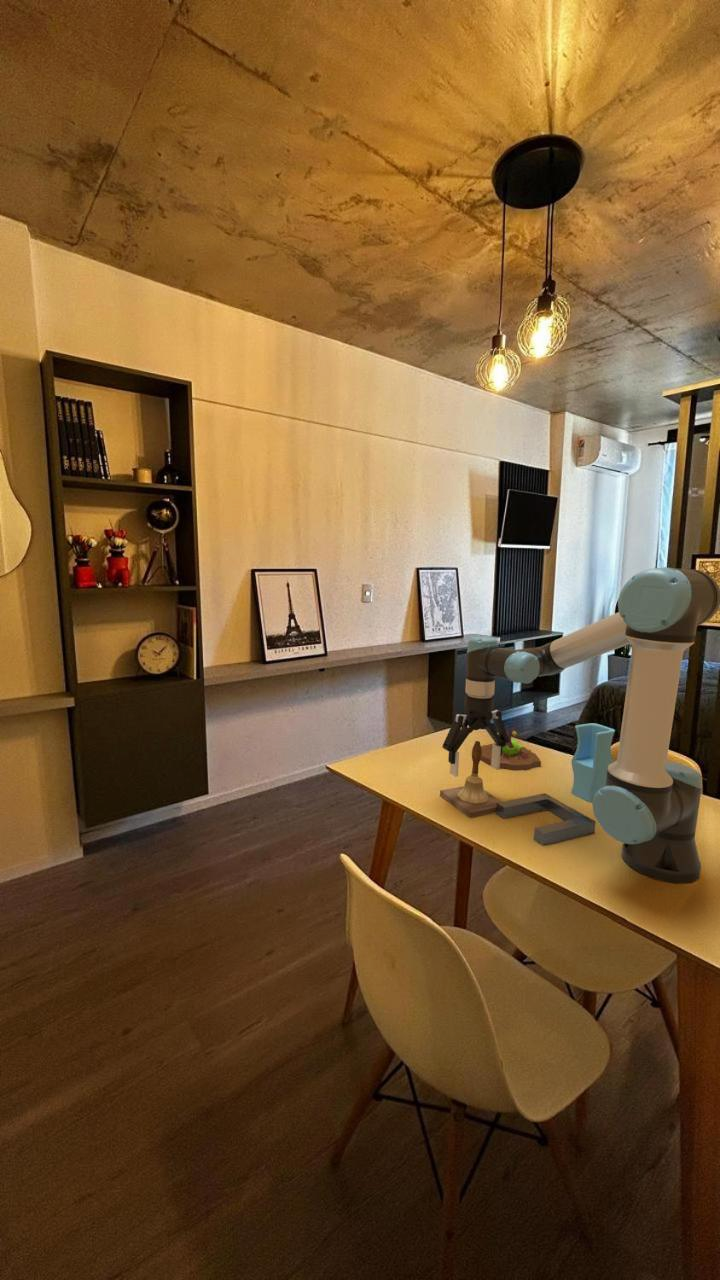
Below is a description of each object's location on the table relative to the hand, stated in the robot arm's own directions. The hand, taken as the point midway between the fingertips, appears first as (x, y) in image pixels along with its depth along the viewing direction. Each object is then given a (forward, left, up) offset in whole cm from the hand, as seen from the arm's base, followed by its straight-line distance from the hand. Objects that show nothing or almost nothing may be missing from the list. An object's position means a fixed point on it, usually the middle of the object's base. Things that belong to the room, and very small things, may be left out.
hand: (474, 771), depth 142 cm
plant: (+23, -31, -10) cm, 40 cm away
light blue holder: (-8, -35, -9) cm, 37 cm away
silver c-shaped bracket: (-16, -10, -9) cm, 21 cm away
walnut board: (0, 0, -9) cm, 9 cm away
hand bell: (0, 0, -8) cm, 8 cm away
